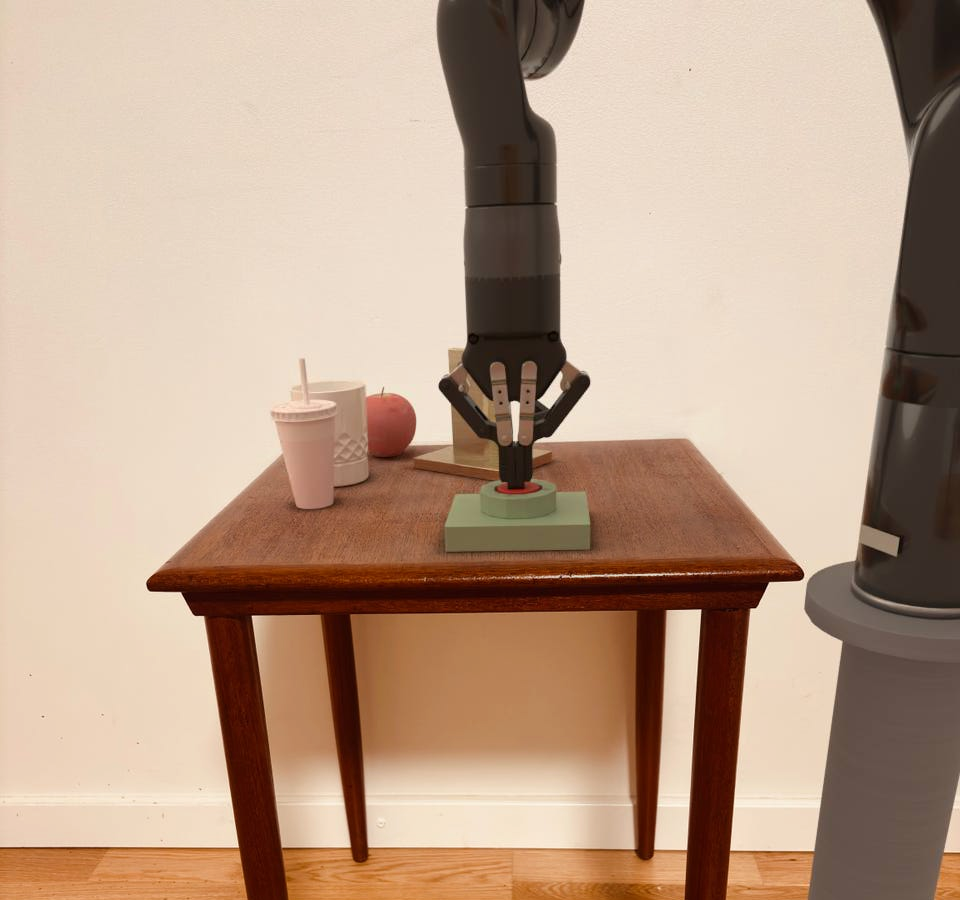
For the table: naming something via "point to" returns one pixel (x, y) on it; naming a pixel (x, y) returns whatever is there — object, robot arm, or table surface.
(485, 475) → the tan pivot stand
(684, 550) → the table surface
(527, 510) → the button block
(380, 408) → the apple
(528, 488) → the button
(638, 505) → the table surface
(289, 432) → the smoothie
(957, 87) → the robot arm
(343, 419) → the white cup
